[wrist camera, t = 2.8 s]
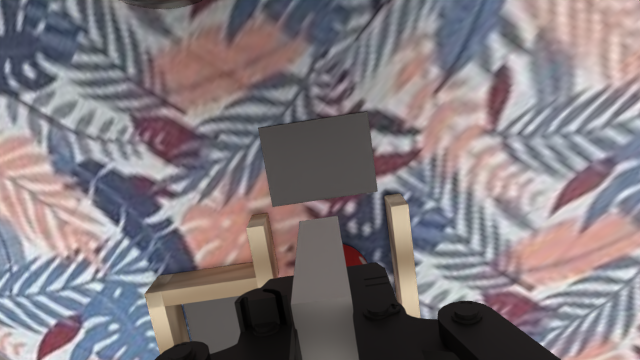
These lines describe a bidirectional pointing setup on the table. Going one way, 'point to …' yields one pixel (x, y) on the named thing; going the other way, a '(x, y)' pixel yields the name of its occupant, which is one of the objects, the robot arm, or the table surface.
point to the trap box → (266, 275)
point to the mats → (296, 193)
